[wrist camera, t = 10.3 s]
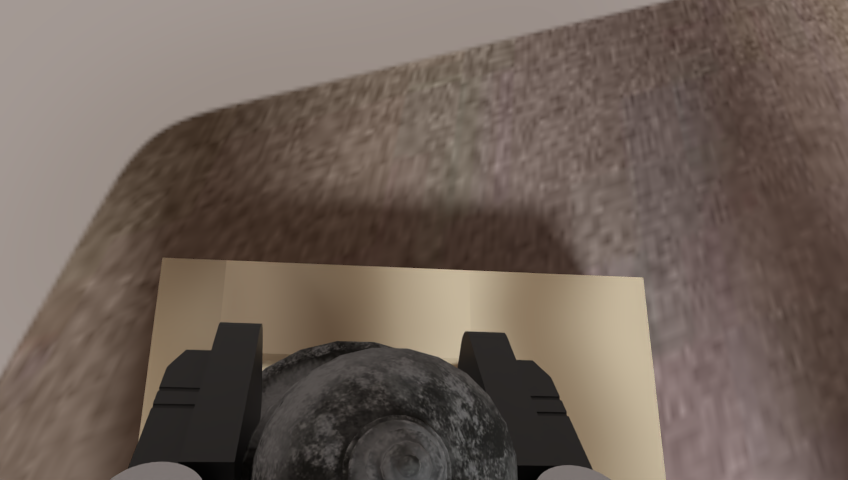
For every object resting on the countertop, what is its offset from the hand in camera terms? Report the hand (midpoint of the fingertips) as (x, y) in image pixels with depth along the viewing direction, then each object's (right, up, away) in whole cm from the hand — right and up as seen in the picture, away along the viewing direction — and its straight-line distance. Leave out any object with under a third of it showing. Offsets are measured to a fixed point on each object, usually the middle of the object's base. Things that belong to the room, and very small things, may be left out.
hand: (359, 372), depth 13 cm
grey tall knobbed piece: (-1, -4, +4) cm, 6 cm away
